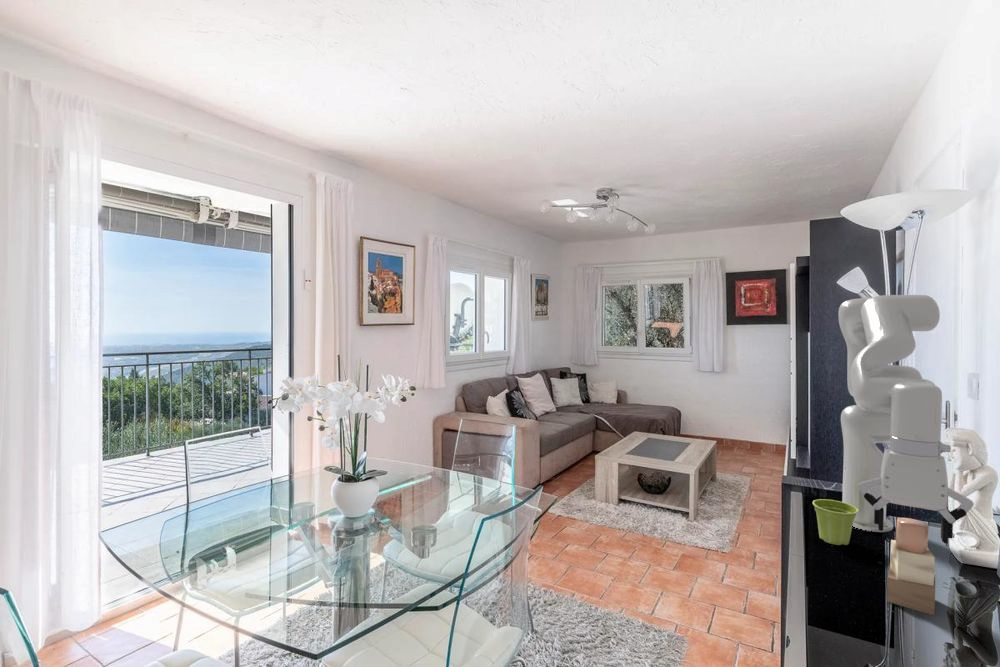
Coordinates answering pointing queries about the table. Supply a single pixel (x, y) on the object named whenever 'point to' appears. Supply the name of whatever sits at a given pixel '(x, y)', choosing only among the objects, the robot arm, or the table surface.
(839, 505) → the plant pot
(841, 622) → the table surface
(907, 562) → the beech block
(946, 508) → the robot arm
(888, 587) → the walnut block
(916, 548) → the peach rounded solid
